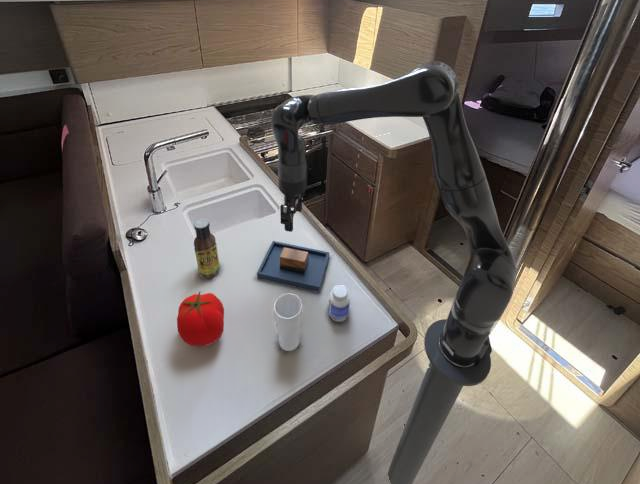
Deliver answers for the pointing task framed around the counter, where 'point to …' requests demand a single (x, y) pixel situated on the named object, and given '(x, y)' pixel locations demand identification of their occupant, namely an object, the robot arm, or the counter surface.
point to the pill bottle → (339, 303)
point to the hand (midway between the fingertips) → (293, 220)
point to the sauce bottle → (206, 249)
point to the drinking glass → (288, 320)
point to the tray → (305, 281)
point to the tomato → (200, 319)
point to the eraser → (294, 260)
